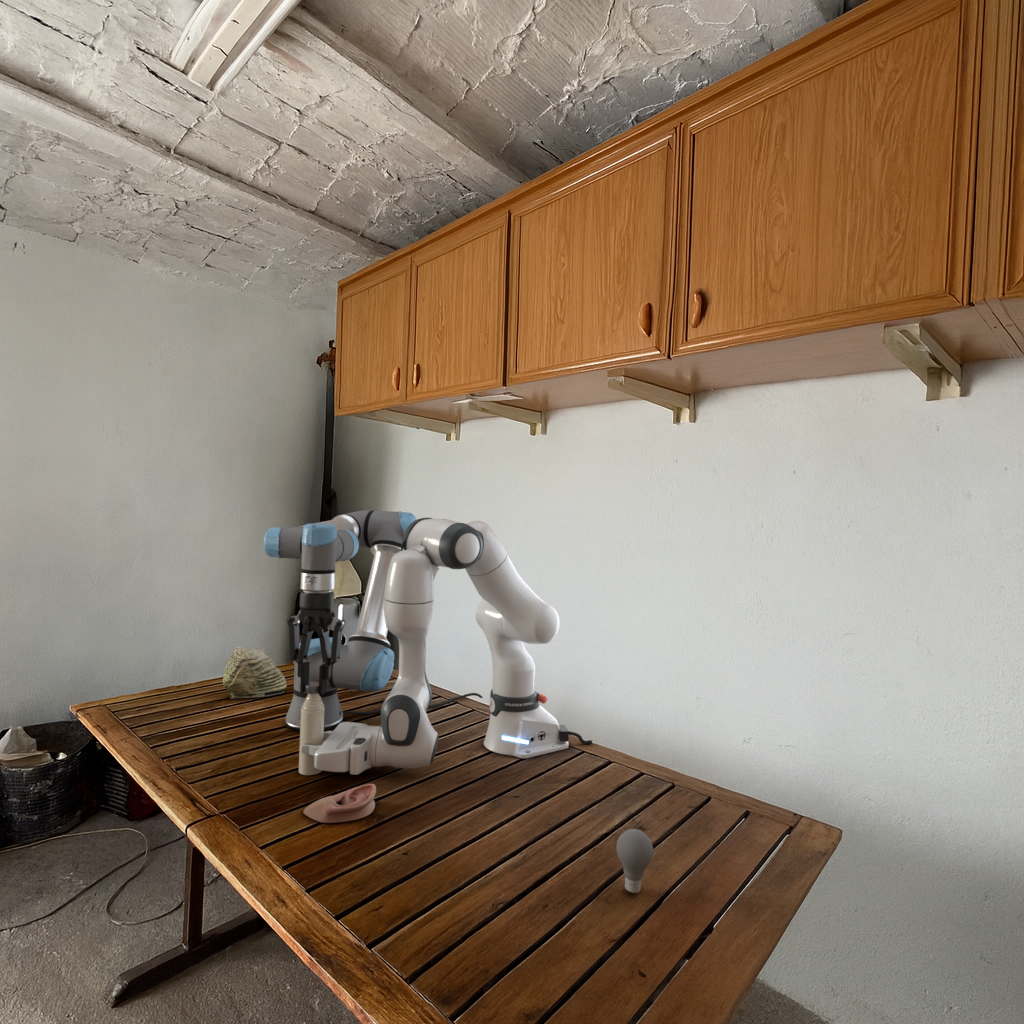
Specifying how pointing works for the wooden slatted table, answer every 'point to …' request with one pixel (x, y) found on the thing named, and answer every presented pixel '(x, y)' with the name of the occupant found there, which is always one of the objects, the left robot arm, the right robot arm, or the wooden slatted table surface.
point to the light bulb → (634, 857)
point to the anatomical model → (343, 805)
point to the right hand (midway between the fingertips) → (307, 742)
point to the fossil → (252, 674)
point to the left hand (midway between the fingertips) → (313, 691)
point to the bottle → (311, 731)
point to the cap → (312, 688)
